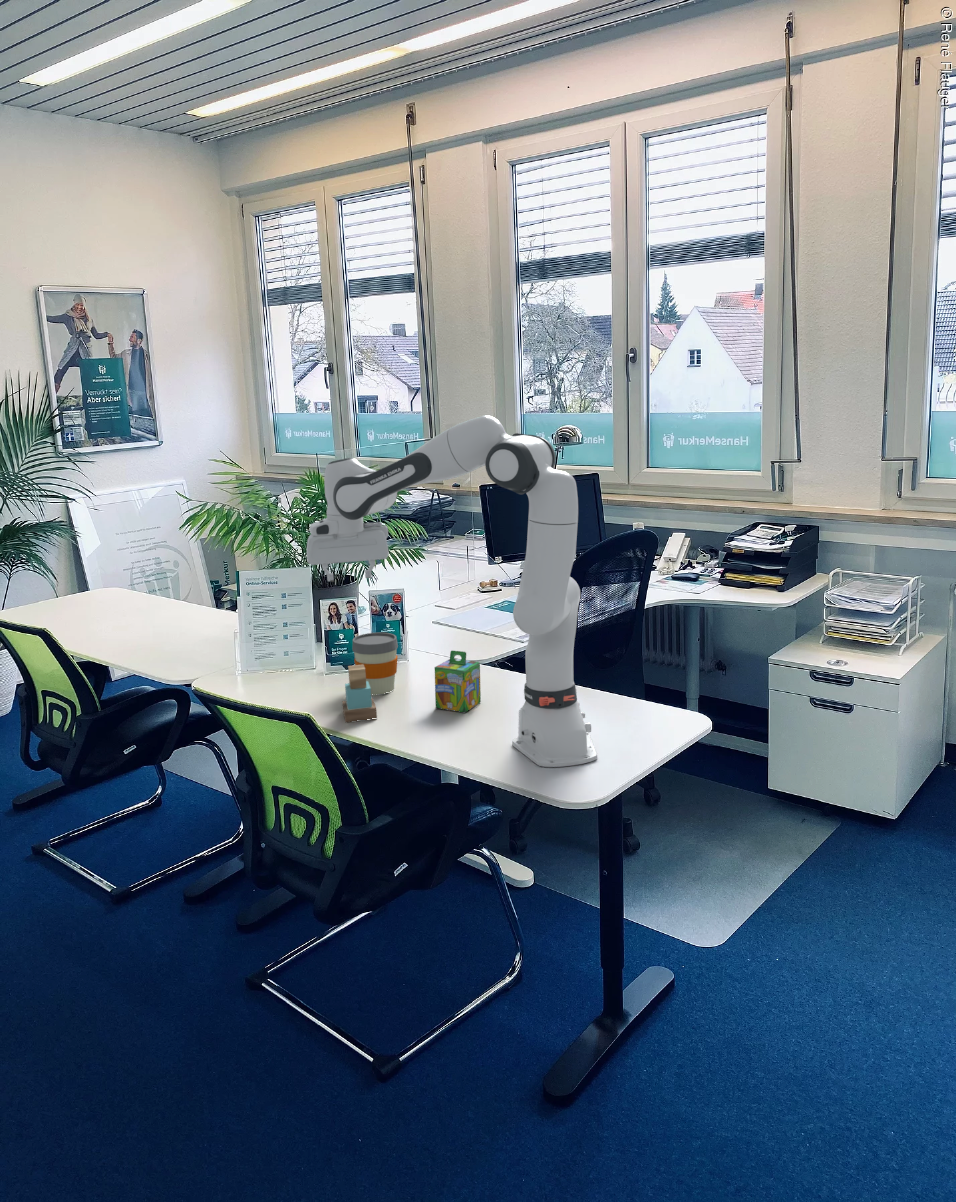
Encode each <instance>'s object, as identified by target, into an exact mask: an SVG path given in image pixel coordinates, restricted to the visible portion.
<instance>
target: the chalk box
mask: <svg viewBox="0 0 956 1202" xmlns="http://www.w3.org/2000/svg"><path fill="white" fill-rule="evenodd" d="M456 656H459V657H461V658H456ZM434 686H435V687H434V692H435V693H434V695H435V698H434V699H435V709H436V708H442V709H441V710H444V709H448V710H447V711H450V710H455V711H460V712H459V713H461V712H466V711H467V712H469V711H470V710H471V708H472V709H473V708H474V706H475V705H476V706H477V704H478V705H480V702H481V701H482V698H481V695H482V694H481V693H482V692H481V691H482V690H481V663H480V662H479V661H475V660H469V659H467V652H466V651H461V650H451V651H450V655H449V659H447V660H446V661H443V662H442V663H440V664H438V665H436V666H434ZM476 706H475V707H476ZM468 710H469V711H468ZM455 711H454V712H455ZM467 712H466V713H467Z"/></svg>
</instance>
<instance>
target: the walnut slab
mask: <svg viewBox="0 0 956 1202" xmlns="http://www.w3.org/2000/svg"><path fill="white" fill-rule="evenodd" d="M371 700H372V707H367V708H358V709H349V710H348V706H347V702H346V700H343V701H341V702H342V703H341V705H342V713H343V717H344V721H345V723H346V722H347V723H353V722H352V721H356V722H358V721H357V720H365V721H368V720H367V719H372V718H377V719H378V715H377V706H376V704H375V701H374V698H373V697H371Z"/></svg>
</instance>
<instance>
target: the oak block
mask: <svg viewBox="0 0 956 1202" xmlns="http://www.w3.org/2000/svg"><path fill="white" fill-rule="evenodd" d="M347 668H348V669H347V670H348V671H347V672H348V682H349V685H350V688H351V689H358V688H367V687H366V673H365V667H364V664H363V665H355V664H353V665H348V666H347Z"/></svg>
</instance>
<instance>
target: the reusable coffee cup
mask: <svg viewBox="0 0 956 1202" xmlns="http://www.w3.org/2000/svg"><path fill="white" fill-rule="evenodd" d="M398 647H399V645H398V639H397V635H395V634H393V633H389V632H370V633H369V632H368V633H363V634H360V635H359V634H358V635H357V636H355V637H353V639H352V652H353V654H354V658H353V660H354V661H353V663H354V665H363V664H364V667H365V673H366V681H368V682H369V685H370V688H371V696H377V695H376V694H384V693H386V692H390V691H392V690H393V689H394V690H395V681H396V679H395V677H396V674H397V671H398V670H397V669H398V655H397V652H398V651H397V649H398ZM394 690H393V691H394ZM393 691H392V692H393ZM390 693H391V692H390ZM372 694H373V695H372ZM374 694H375V695H374ZM384 695H385V694H384Z"/></svg>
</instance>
